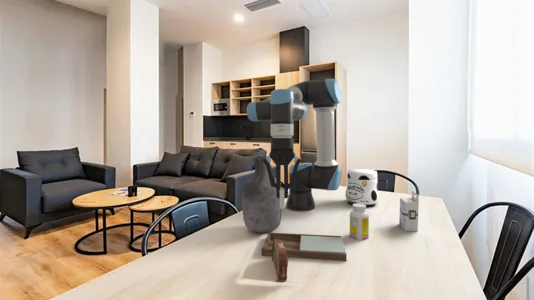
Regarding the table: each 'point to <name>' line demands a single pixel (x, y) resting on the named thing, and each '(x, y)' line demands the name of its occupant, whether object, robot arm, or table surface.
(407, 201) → the ink box
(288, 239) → the walnut case
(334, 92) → the robot arm
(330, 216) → the table surface
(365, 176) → the milk container
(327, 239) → the cover plate
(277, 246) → the tin
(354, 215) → the supplement bottle
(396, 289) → the table surface
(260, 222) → the vase
